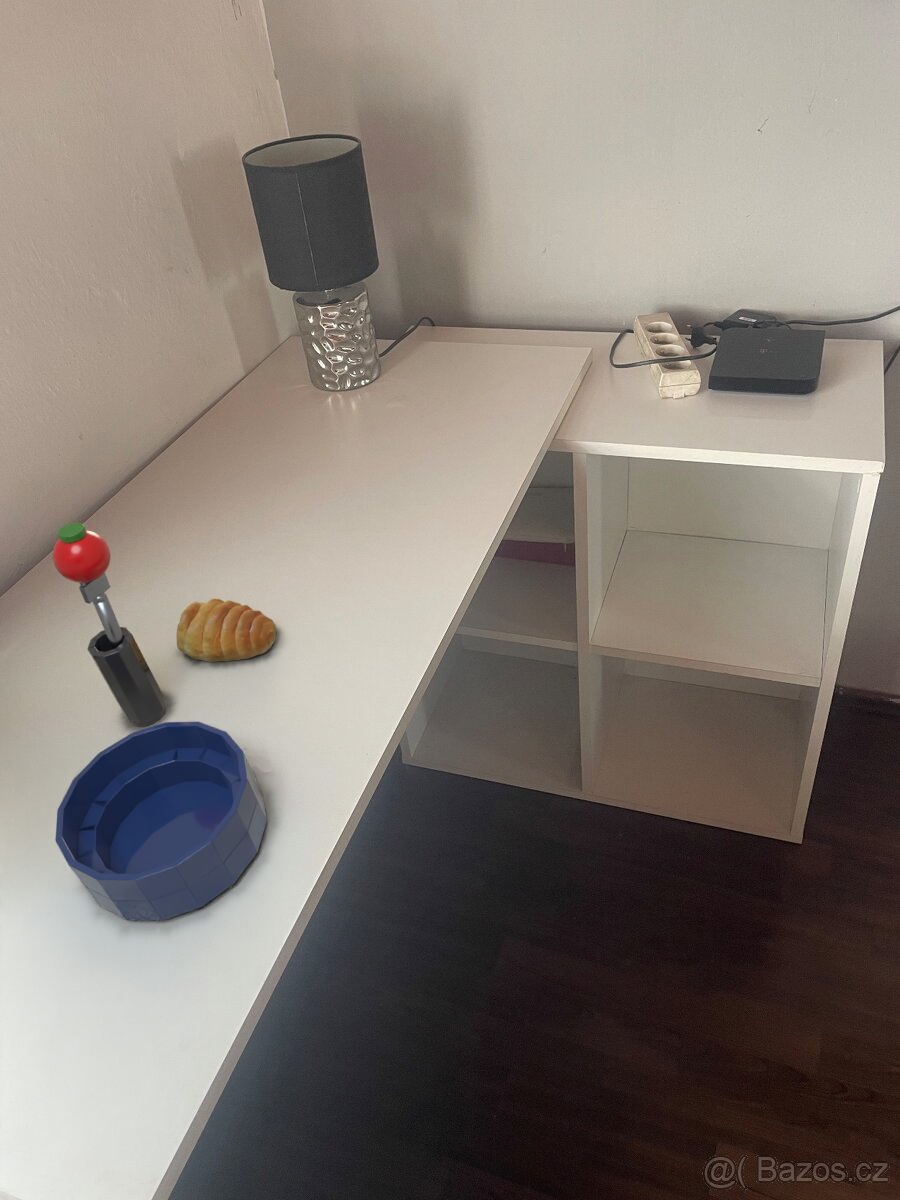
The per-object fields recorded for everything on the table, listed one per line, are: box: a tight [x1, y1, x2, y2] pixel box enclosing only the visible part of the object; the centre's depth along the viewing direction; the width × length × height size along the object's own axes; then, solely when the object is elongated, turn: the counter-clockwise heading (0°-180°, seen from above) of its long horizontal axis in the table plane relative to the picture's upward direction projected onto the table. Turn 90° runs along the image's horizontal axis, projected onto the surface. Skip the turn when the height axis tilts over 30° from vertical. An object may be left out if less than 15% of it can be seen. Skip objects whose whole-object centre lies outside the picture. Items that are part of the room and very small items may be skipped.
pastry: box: [176, 598, 277, 663], centre depth 83 cm, size 9×7×4 cm
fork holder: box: [87, 626, 168, 728], centre depth 76 cm, size 4×4×9 cm
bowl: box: [55, 721, 268, 921], centre depth 66 cm, size 14×14×6 cm
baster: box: [52, 522, 124, 649], centre depth 72 cm, size 4×4×19 cm
